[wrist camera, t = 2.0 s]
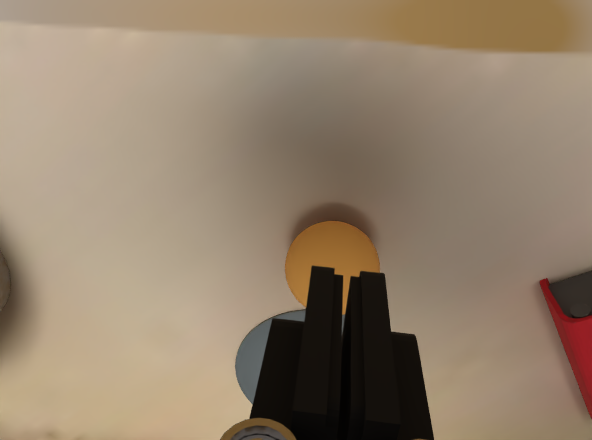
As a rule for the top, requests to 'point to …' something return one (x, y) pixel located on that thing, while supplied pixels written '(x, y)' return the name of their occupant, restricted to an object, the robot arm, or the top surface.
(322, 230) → the ball
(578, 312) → the red device housing
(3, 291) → the vase
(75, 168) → the top surface
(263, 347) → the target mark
